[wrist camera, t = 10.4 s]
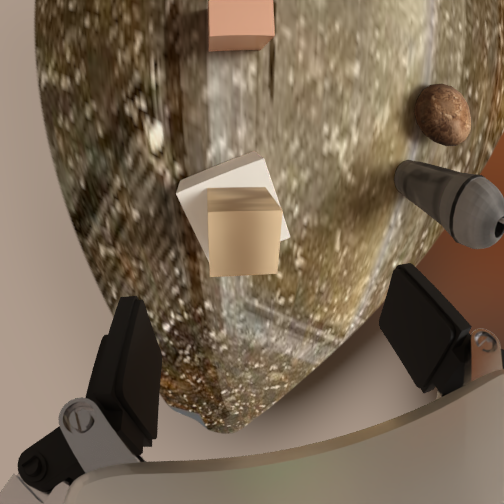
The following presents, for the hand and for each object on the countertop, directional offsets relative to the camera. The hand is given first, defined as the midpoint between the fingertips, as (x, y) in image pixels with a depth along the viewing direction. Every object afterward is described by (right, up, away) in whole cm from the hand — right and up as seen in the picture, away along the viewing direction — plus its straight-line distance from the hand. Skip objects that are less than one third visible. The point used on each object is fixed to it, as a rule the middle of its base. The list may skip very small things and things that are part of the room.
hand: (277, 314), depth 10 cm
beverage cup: (+19, +12, +21) cm, 30 cm away
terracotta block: (-3, +24, +11) cm, 26 cm away
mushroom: (+21, +20, +18) cm, 34 cm away
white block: (-3, +8, +20) cm, 21 cm away
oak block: (-2, +5, +15) cm, 16 cm away
